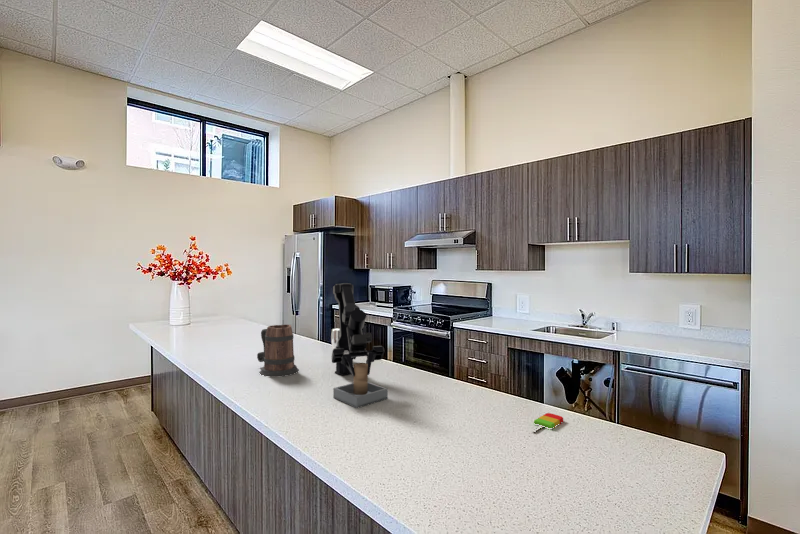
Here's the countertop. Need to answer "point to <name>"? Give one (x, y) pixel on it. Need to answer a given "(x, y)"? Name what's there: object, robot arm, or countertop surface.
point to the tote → (352, 399)
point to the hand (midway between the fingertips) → (361, 375)
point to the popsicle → (549, 420)
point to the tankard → (277, 351)
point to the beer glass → (335, 337)
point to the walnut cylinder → (360, 379)
